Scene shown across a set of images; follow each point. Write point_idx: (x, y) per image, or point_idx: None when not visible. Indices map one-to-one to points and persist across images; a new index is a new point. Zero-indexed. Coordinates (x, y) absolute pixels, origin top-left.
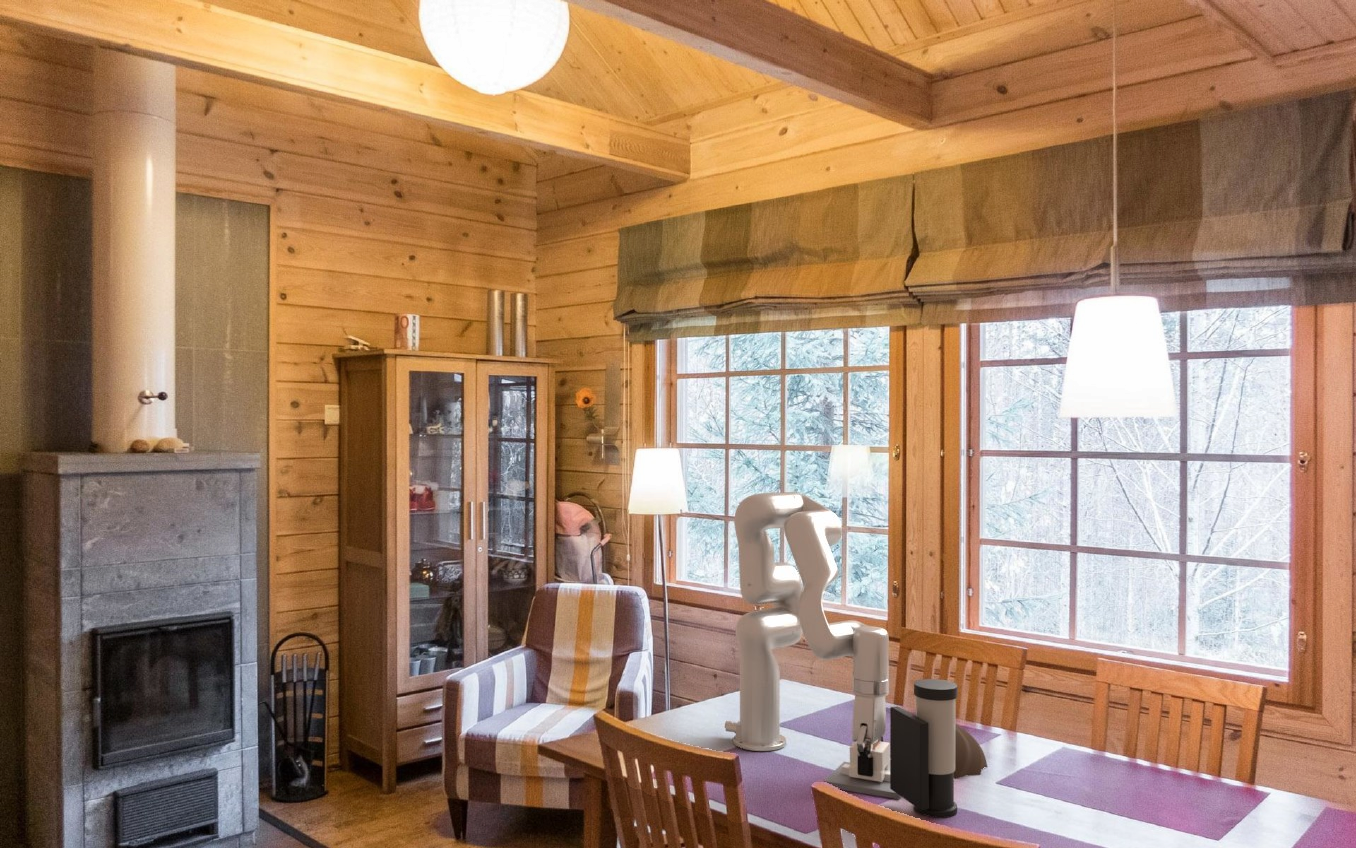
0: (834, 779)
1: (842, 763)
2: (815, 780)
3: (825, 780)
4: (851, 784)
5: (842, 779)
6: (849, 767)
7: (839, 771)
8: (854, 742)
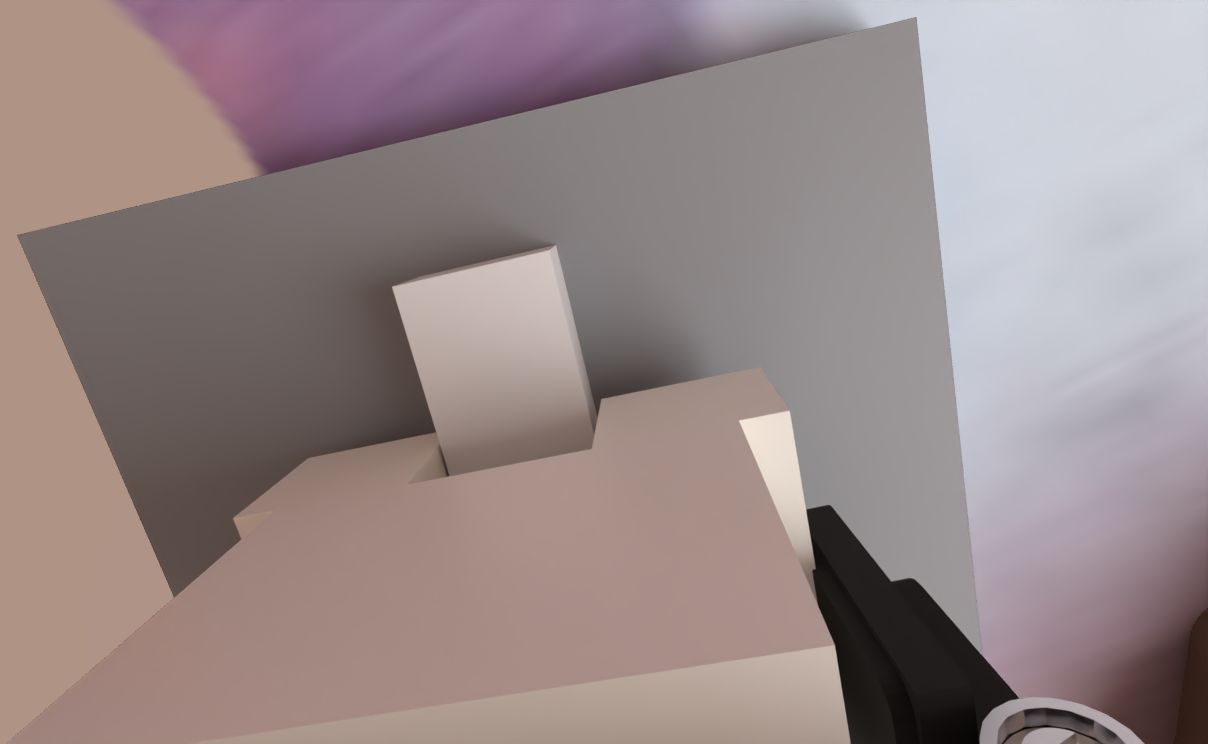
0: (172, 312)
1: (823, 44)
2: (183, 10)
3: (49, 239)
4: (189, 555)
5: (250, 391)
6: (240, 522)
7: (484, 199)
8: (381, 733)
